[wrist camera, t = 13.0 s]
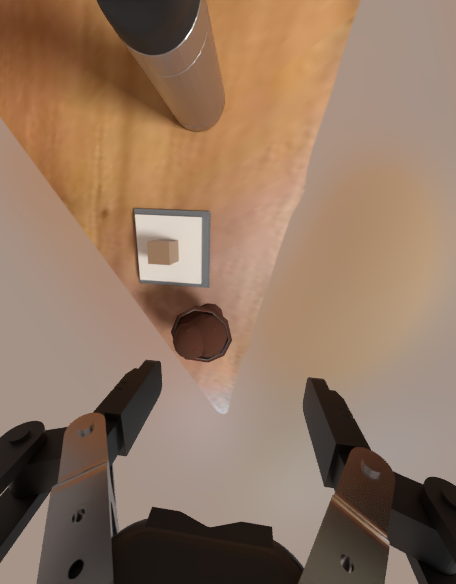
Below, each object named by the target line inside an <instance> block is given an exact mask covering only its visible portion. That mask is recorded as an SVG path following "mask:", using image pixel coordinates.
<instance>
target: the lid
mask: <svg viewBox="0 0 456 584" xmlns="http://www.w3.org/2000/svg"><path fill="white" fill-rule="evenodd" d="M135 222H136V235H137V247H138V259H139V272H140V280H151V281H165V282H178V283H192V284H201V283H202V217H184V216H162V215H140V214H135Z"/></svg>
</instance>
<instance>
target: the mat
mask: <svg viewBox="0 0 456 584" xmlns="http://www.w3.org/2000/svg"><path fill="white" fill-rule="evenodd" d="M135 214H140V215H162V216H184V217H202V283H201V284H192V283H178V282H165V281H151V280H140V283H149V284H163V285H177V286H191V287H205V288H209V263H210V212H208V211H183V210H159V209H134V215H135ZM135 227H136V222H135ZM136 239H137V235H136ZM137 251H138V247H137ZM138 263H139V259H138ZM139 275H140V272H139Z"/></svg>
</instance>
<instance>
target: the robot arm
mask: <svg viewBox="0 0 456 584" xmlns="http://www.w3.org/2000/svg"><path fill="white" fill-rule="evenodd" d="M97 2H98V4H99V6H100V8H101V10H102V12H103V13H104V15H105V17H106V18H107V20H108V21H109V23H110V24H111V25H112V27H113V28H114V30H115V31H116V33H117V34H118V35H119V37H120V38H121V40H122V41H123V43H124V44H125V46H126V47H127V48H128V50H129V51H130V53H131V54H132V56H133V57H134V58H135V60H136V61H137V63H138V64H139V66H140V67H141V69H142V70H143V71H144V73H145V74H146V76H147V77H148V79H149V80H150V82H151V83H152V84H153V86H154V87H155V89H156V90H157V92H158V93H159V95H160V96H161V97H162V99H163V100H164V102H165V103H166V105H167V106H168V108H169V109H170V111H171V112H172V113H173V115H174V116H175V118H176V119H177V121H178V122H179V123H180V124H181V125H182V126H183V127H185V128H186V129H188V130H190V131H195V132H200V131H204V130H207V129H209V128H210V127H212V126H213V125H214V124H215V123H216V122H217V121H218V119H219V118H220V116H221V113H222V111H223V107H224V101H225V94H224V88H223V83H222V78H221V72H220V67H219V62H218V57H217V52H216V47H215V42H214V37H213V32H212V27H211V22H210V17H209V12H208V7H207V2H206V0H97ZM161 389H162V374H161V362H160V361H153V360H146V361H144V363H143V364H142V365H141V366H140V367H139V369H137V368H134V369H133V370H132V371H130V372H128V373H127V374H125V376H124V377H123V378H122V379H121V380H120V382H119V383H118V384H117V385H116V386H115V388H114V389H113V390H112V391H111V392H110V393H109V394H108V396H107V397H106V398H105V399H104V400H103V401H102V403H101V404H100V405H99V406H98V407H97V409H96V410H95V411H94V412H93V413H89V414H86V415H83V416H81V417H79V418H77V419H76V420H74V421H73V422H72V423H71V424H70V425H69V426H68V427H64V428H58V429H52V430H46V431H45V427H44V425H43V423H42V422H39V421H31V422H26V423H23V424H21V425H18V426H16V427H14V428H13V429H11V430H9V431H8V432H6V433H5V434H4V435H3V436H2V437H0V494H1V493H2V492H3V491H4V490H5V489H6V488H7V486H9V487H8V488H7V489H6V490H5V492H4V493H3V494H2V495H1V496H0V562H1V561H2V560H3V558H4V557H5V555H6V554H7V553H8V551H9V550H10V548H11V547H12V545H13V544H14V543H15V541H16V540H17V538H18V537H19V536H20V534H21V533H22V531H23V530H24V528H25V527H26V526H27V524H28V523H29V521H30V520H31V518H32V517H33V516H34V514H35V513H36V511H37V510H38V509H39V507H40V506H41V504H42V503H43V501H44V500H45V499H46V497H47V496H48V494H49V493H50V492H51V493H50V499H49V507H48V512H47V519H46V525H45V532H44V539H43V545H42V552H41V558H40V565H39V572H38V578H37V584H385V576H386V569H387V562H388V555H389V545H391V546H393V547H395V548H397V549H399V550H400V551H403V552H404V553H406V555H407V558H408V560H409V562H410V564H411V567H412V569H413V572H414V574H415V576H416V579H417V581H418V583H419V584H456V486H455V485H453V484H452V483H450V482H448V481H446V480H443V479H441V478H437V477H429V478H427V479H426V480H425V482H424V484H421V483H418V482H416V481H413V480H411V479H409V478H407V477H404V476H402V475H400V474H397V473H395V472H393V471H392V469H391V467H390V466H389V465H388V463H387V462H386V461H385V460H384V459H383V458H382V457H381V456H379V455H378V454H376V453H375V452H373V451H371V449H370V447H369V445H368V443H367V441H366V440H365V438H364V436H363V434H362V432H361V430H360V429H359V427H358V425H357V423H356V421H355V419H354V418H353V416H352V414H351V412H350V410H349V408H348V406H347V404H346V403H345V401H344V399H343V398H342V397H341V396H340V395H339V394H338V393H337V392H336V391H333V390H329V388H328V386H327V384H326V382H325V380H324V379H319V378H310V377H309V378H308V379H307V383H306V389H305V394H304V399H303V412H304V416H305V419H306V423H307V427H308V430H309V434H310V437H311V441H312V444H313V448H314V452H315V455H316V459H317V462H318V466H319V469H320V473H321V476H322V480H323V483H324V486H325V487H330V488H334V490H335V493H334V495H333V496H332V498H331V501H330V503H329V506H328V508H327V511H326V514H325V516H324V518H323V521H322V524H321V526H320V529H319V532H318V534H317V537H316V539H315V542H314V545H313V547H312V550H311V552H310V555H309V558H308V560H307V563H306V565H305V568H303V566H302V565H301V563H299V561H298V560H297V559H296V558H295V557H294V555H292V554H291V553H290V552H289V551H288V550H287V549H286V548H285V547H283V546H282V545H281V544H279V543H278V542H276V541H274V540H273V535H272V527H270V526H264V525H258V524H252V523H246V522H238V523H232V524H227V525H221V526H216V527H207V526H205V525H203V524H201V523H200V522H198V521H196V520H194V519H193V518H191V517H189V516H187V515H186V514H184V513H182V512H180V511H174V510H168V509H162V508H156V507H152V509H151V512H150V514H149V517H148V519H144V520H141V521H138V522H136V523H133V524H131V525H129V526H128V527H126V528H124V529H123V530H121V531H120V532H119V526H118V519H117V508H116V496H115V484H114V472H113V462H114V460H115V459H116V457H117V455H121V456H127V455H128V453H129V451H130V449H131V447H132V445H133V443H134V442H135V440H136V438H137V436H138V434H139V432H140V431H141V429H142V427H143V425H144V423H145V421H146V420H147V418H148V416H149V414H150V412H151V410H152V409H153V407H154V405H155V403H156V401H157V399H158V397H159V395H160V393H161Z"/></svg>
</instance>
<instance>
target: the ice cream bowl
mask: <svg viewBox="0 0 456 584" xmlns="http://www.w3.org/2000/svg"><path fill="white" fill-rule="evenodd" d="M171 333H172V336H173V344H174V347H175V350H176V352H177V353H178V354H179V355H180V356H182V357H184V358H185V359H188V360H196V361H202V362H211V361H213V360H215V359H217V358H220V357H222V356H224V355H225V353H226V351H227V349H228V347H229V345H230V343H231V341H232V338H231V334H230V329H229V325H228V321H227V319H225V318H224V317H223V314H222V310H221V309H220V308H219V307H218V306H217V305H215V304H206V305H204V306H202V307H200V306H195V307H193V308H191V309H189V310H187V311H185V312H183V313H181V314H180V315H178V316H177V318H176V320H175V323H174V325H173V328H172V330H171Z"/></svg>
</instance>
